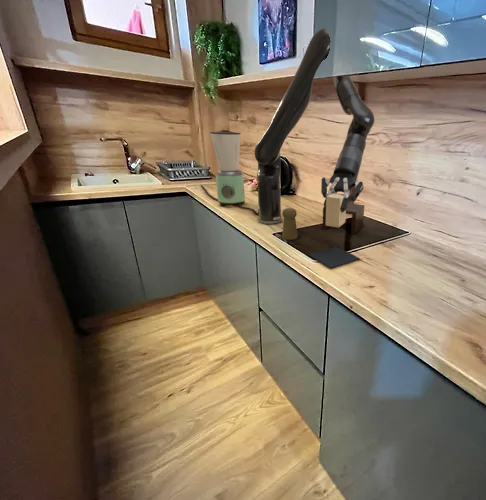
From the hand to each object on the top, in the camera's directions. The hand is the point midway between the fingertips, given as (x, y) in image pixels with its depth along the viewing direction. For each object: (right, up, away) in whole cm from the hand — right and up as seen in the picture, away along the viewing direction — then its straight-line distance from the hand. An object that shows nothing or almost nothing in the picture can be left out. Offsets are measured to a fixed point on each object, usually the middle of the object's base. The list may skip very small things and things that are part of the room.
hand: (333, 209), depth 91 cm
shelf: (+4, -2, +37) cm, 38 cm away
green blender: (-52, +11, +64) cm, 83 cm away
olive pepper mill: (-17, -7, +24) cm, 30 cm away
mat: (0, -15, +8) cm, 17 cm away
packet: (+1, -4, +4) cm, 5 cm away
